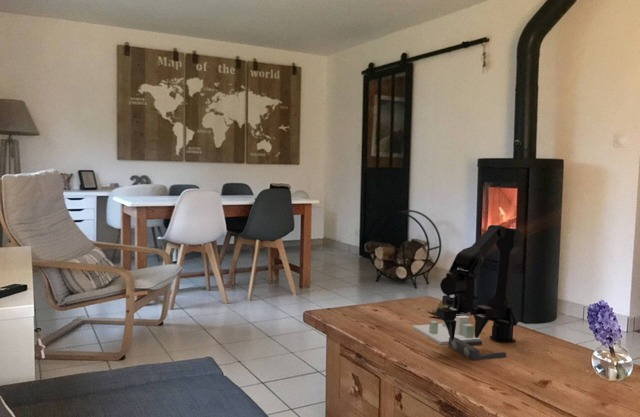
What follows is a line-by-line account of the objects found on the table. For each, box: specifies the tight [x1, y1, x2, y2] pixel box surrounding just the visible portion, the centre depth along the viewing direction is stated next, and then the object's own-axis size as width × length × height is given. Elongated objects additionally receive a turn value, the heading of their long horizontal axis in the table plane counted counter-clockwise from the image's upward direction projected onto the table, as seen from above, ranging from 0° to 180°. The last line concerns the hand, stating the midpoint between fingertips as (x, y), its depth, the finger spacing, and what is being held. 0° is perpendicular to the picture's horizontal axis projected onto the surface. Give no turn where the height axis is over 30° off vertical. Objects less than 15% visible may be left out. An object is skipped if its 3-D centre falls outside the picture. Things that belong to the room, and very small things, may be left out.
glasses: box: [448, 337, 507, 361], centre depth 178 cm, size 12×14×3 cm
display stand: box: [412, 315, 482, 346], centre depth 195 cm, size 16×20×7 cm
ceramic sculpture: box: [427, 300, 456, 317], centre depth 219 cm, size 11×9×15 cm
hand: (464, 338), depth 176 cm, fingers open, 9 cm apart
